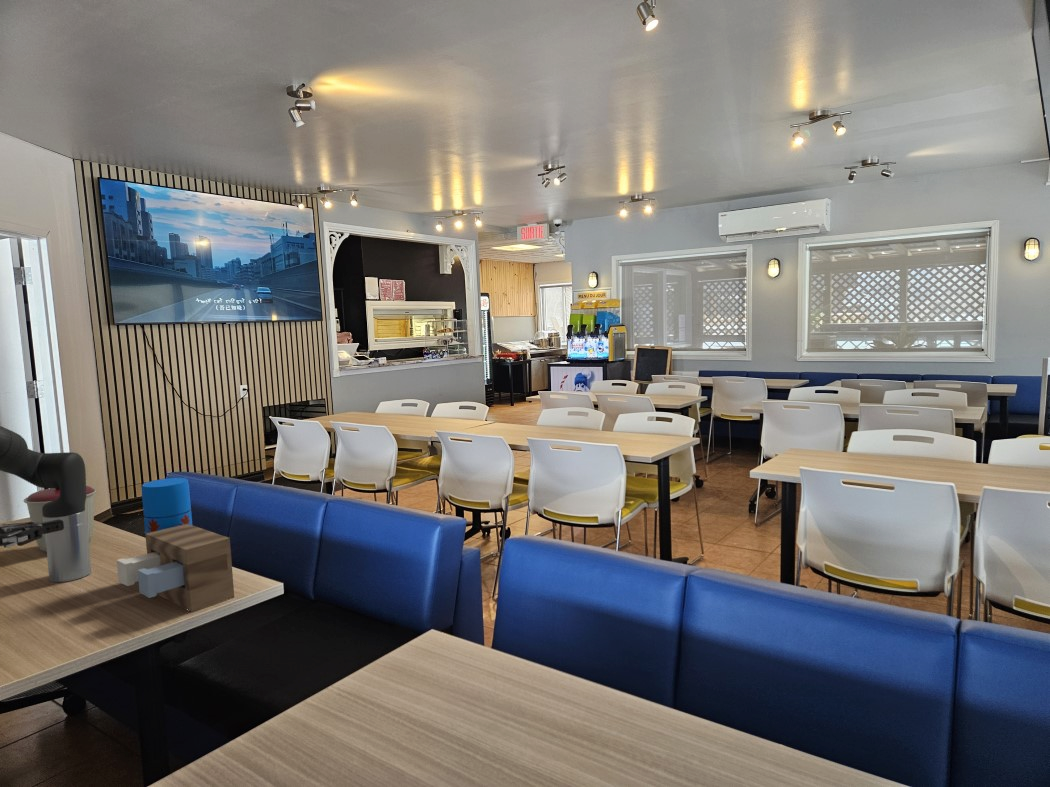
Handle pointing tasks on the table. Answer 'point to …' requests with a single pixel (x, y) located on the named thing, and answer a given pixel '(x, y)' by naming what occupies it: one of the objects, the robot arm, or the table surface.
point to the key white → (136, 567)
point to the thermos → (166, 504)
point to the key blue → (160, 578)
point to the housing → (195, 564)
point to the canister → (48, 495)
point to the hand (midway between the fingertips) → (62, 524)
